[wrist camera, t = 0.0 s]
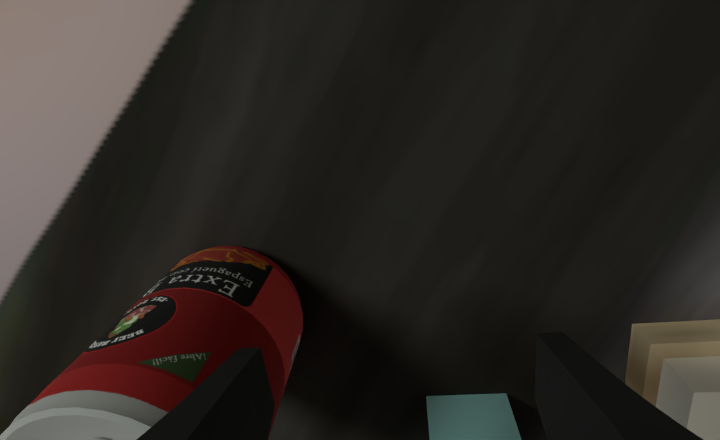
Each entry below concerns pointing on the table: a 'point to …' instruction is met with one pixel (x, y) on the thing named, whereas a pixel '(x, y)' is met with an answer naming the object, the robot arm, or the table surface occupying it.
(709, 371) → the cream slab
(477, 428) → the teal block
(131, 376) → the canned food
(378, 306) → the table surface
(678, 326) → the oak slab
